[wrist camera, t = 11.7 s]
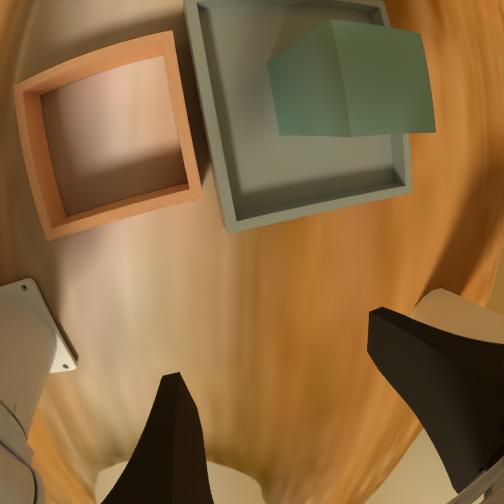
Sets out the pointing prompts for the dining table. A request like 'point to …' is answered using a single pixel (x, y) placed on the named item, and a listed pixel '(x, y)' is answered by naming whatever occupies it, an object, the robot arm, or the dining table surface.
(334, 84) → the teal block
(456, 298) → the foam cup
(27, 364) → the robot arm
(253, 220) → the slate tray
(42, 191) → the orange square frame
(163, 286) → the dining table surface
